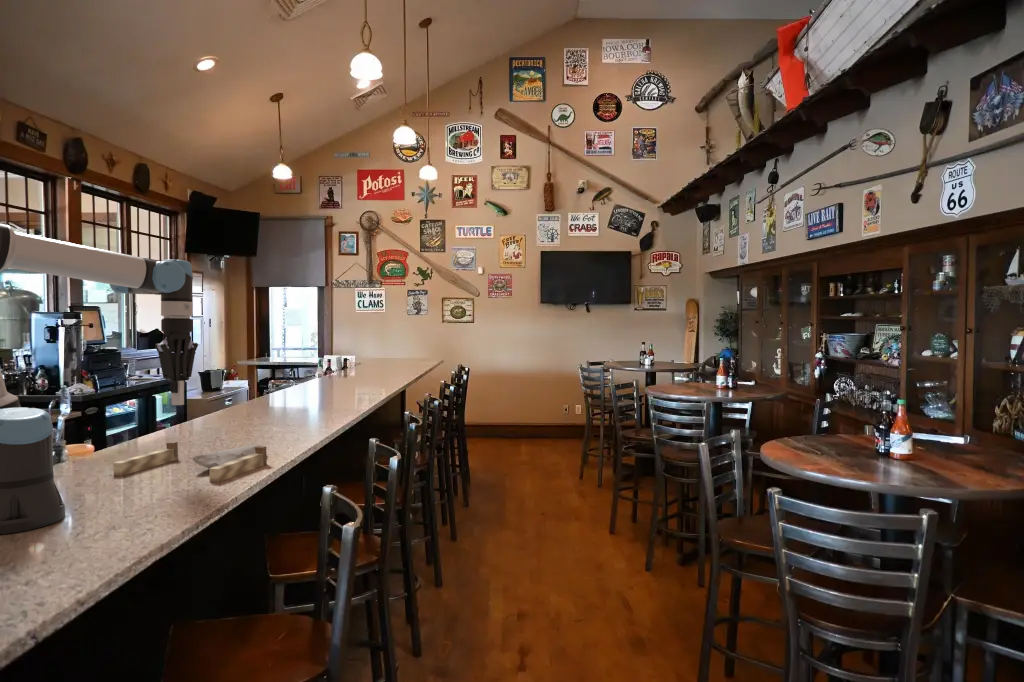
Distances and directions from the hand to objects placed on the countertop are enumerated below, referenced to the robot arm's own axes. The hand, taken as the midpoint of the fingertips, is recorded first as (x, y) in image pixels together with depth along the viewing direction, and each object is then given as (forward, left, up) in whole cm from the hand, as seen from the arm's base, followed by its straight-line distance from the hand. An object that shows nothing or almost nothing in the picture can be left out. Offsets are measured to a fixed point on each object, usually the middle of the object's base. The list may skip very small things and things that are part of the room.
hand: (177, 404), depth 168 cm
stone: (+13, -8, -19) cm, 25 cm away
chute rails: (+5, 0, -19) cm, 19 cm away
